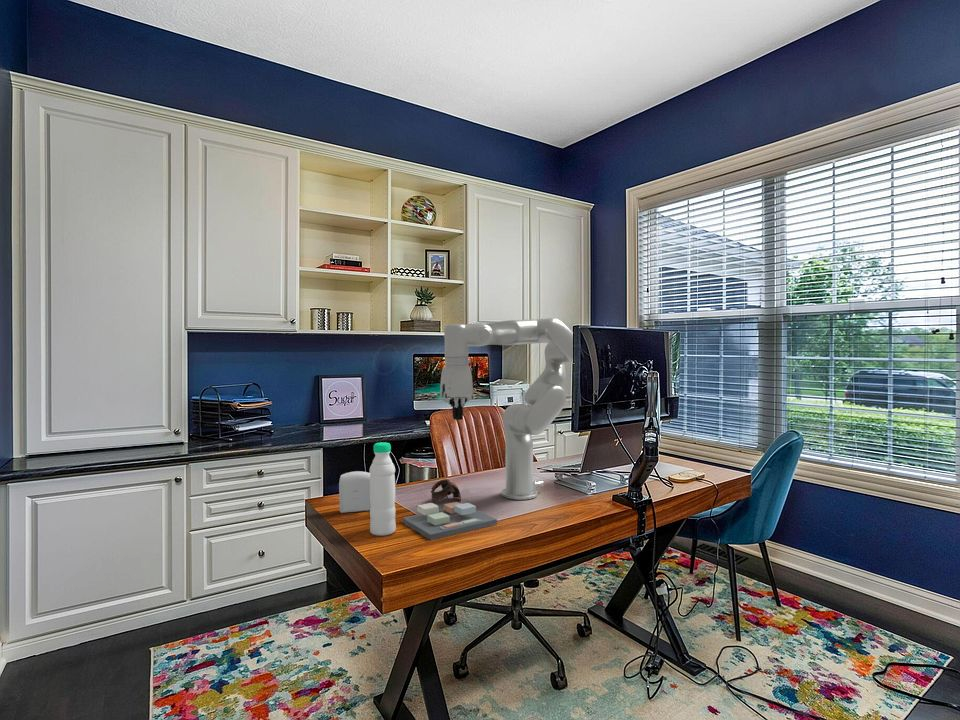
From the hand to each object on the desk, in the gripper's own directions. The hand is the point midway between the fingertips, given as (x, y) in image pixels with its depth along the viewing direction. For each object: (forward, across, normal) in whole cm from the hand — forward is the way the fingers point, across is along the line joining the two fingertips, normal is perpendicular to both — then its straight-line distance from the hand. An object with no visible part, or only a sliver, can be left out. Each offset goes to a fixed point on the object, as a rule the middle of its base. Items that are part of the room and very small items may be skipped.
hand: (457, 419), depth 172 cm
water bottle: (+28, +31, +8) cm, 42 cm away
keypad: (+28, +12, +13) cm, 33 cm away
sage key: (+26, +16, +14) cm, 34 cm away
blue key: (+25, +7, +14) cm, 30 cm away
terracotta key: (+26, +7, +8) cm, 29 cm away
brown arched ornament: (+29, 0, -8) cm, 30 cm away
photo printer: (+28, +29, -15) cm, 43 cm away
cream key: (+25, +16, +8) cm, 31 cm away
